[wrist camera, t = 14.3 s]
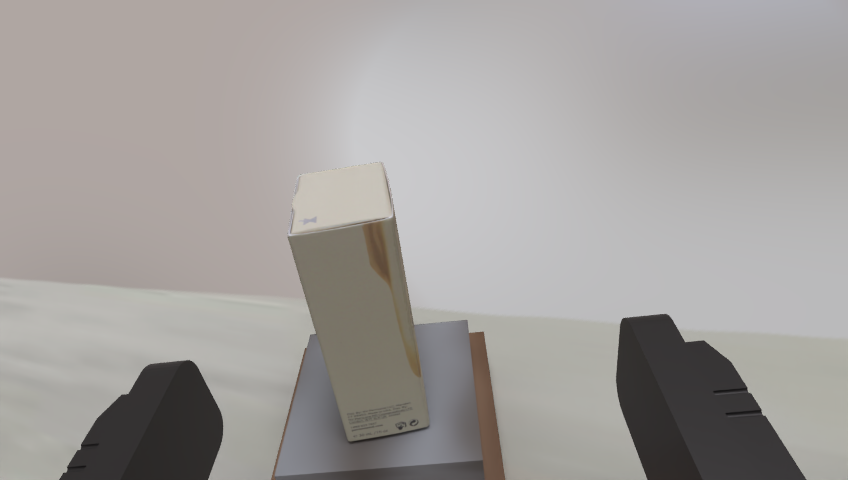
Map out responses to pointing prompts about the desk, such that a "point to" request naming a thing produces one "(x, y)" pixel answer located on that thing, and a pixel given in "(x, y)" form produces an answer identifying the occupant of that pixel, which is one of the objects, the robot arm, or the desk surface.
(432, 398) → the metal plate on wood
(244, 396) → the desk surface
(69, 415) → the desk surface
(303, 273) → the skincare box
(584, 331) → the desk surface
